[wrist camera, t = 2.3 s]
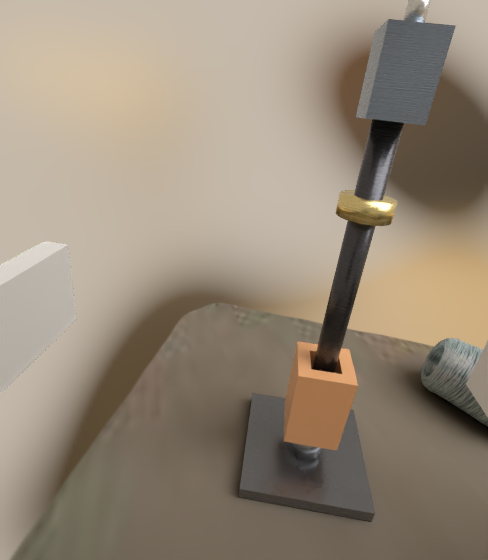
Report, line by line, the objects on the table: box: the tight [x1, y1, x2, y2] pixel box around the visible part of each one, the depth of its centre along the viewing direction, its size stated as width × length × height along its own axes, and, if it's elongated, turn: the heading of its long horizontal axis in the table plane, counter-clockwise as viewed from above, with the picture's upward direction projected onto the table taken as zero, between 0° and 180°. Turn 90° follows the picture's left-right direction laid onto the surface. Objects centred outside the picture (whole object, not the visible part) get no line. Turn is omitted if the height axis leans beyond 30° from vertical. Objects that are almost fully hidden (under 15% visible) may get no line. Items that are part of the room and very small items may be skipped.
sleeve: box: [284, 341, 358, 451], centre depth 34 cm, size 5×5×8 cm
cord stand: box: [238, 0, 455, 522], centre depth 29 cm, size 12×12×39 cm
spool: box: [421, 338, 488, 427], centre depth 44 cm, size 14×10×10 cm
